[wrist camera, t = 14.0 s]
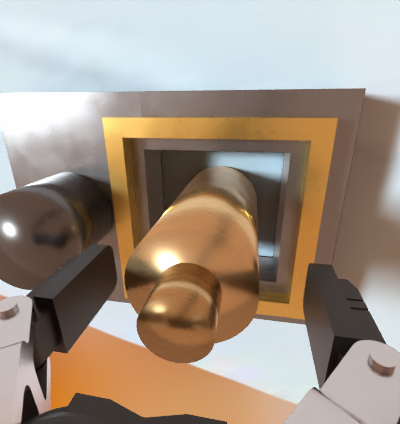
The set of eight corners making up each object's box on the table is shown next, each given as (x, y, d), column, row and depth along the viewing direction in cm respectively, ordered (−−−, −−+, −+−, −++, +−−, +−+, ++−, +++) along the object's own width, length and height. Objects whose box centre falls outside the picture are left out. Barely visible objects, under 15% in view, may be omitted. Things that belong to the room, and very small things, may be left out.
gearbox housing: (346, 90, 16) (427, 81, 8) (311, 296, 21) (342, 403, 13) (30, 94, 19) (-111, 90, 12) (67, 270, 24) (-15, 344, 17)
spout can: (259, 167, 18) (267, 269, 7) (254, 237, 20) (254, 405, 9) (184, 164, 19) (85, 251, 8) (185, 232, 21) (107, 379, 10)
